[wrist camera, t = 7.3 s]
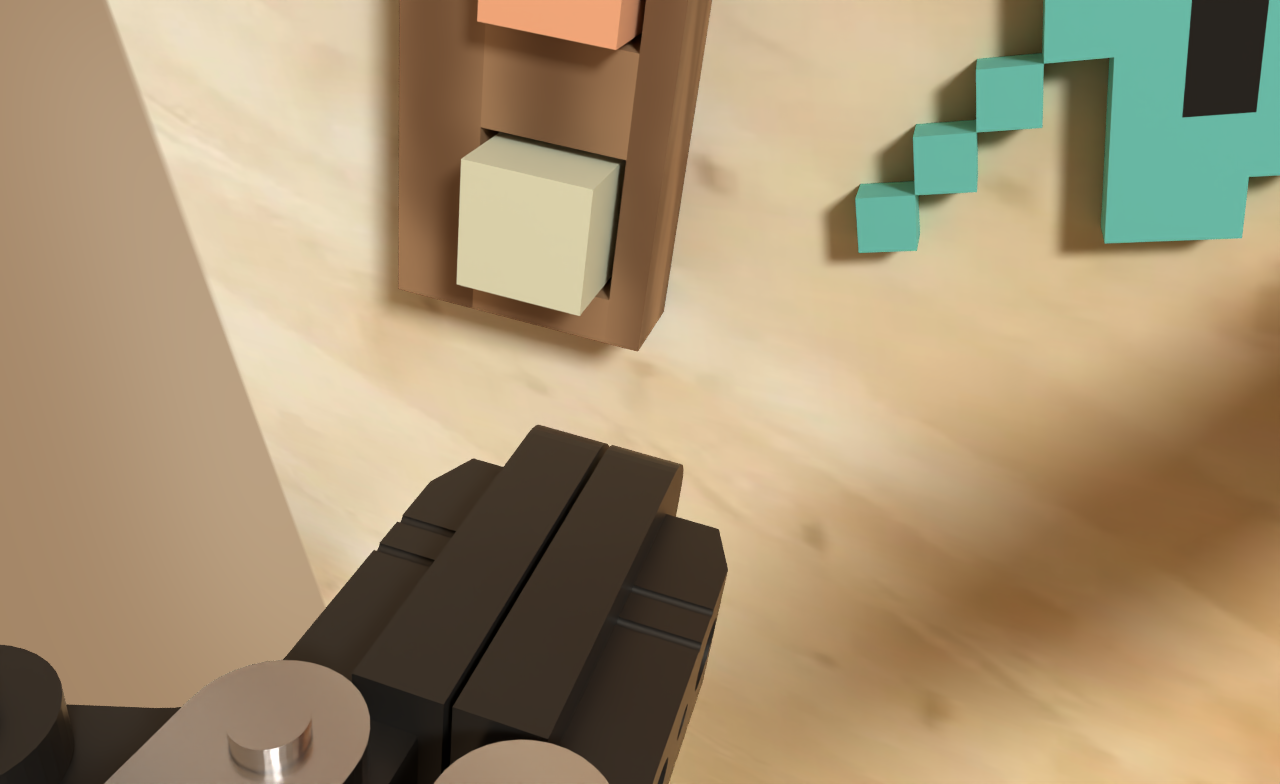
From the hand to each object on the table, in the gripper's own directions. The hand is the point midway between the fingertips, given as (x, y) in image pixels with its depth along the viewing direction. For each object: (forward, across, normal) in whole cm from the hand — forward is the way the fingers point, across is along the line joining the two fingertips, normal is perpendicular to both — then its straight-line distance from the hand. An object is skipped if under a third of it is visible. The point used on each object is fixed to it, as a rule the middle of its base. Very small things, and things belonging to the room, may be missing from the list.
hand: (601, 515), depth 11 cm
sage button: (+30, +11, +10) cm, 34 cm away
